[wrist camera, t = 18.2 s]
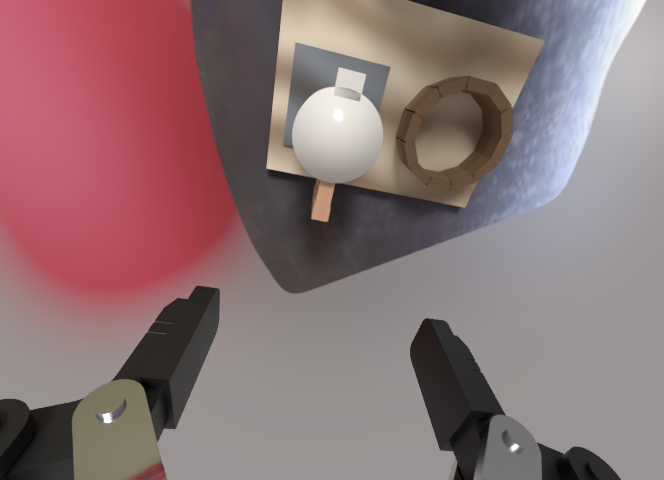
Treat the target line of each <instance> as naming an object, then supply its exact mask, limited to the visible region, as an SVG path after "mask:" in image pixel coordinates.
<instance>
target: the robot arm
mask: <svg viewBox="0 0 664 480" xmlns="http://www.w3.org/2000/svg"><path fill="white" fill-rule="evenodd" d="M219 297H220V291H219V289H218V288H210V287H204V286H196V288H195V289H194V290H193V292H192V293H191V295H190V297H189V298H188V299H181V298H177V299H176V300H174V301H173V302H172V303H171V304H169V305H167V306H166V307H164V309H163V310H162V312H161V313H160V314H159V316H158V317H157V319H156V320H155V323H153V324H152V326H151V327H150V329H149V330H148V333H146V334H145V336H144V337H143V339H142V340H141V341H140V343H139V344H138V346H137V347H136V348H135V350H134V351H133V353H132V354H131V355H130V357H129V358H128V360H127V361H126V362H125V364H124V365H123V367H122V368H121V370H120V371H119V372H118V374H117V375H116V376H115V378H114V379H113V380H112V381H111V382H108V383H106V384H103V385H101V386H100V387H98V388H96V389H95V390H93V391H92V392H90V393H89V394H88V395H87V396H86V397H85V398H83V399H80V400H77V401H74V402H70V403H64V404H59V405H54V406H50V407H44V408H39V409H34V410H30V409H29V408H28V406H27V405H26V403H24V402H23V401H20V400H17V399H3V400H0V480H167V478H166V474H165V470H164V467H163V464H162V461H161V456H160V452H159V448H158V444H157V442H158V440H159V438H160V436H161V434H162V431H163V429H164V428H166V429H176V427H177V424H178V422H179V419H180V417H181V415H182V412H183V410H184V408H185V405H186V403H187V401H188V398H189V396H190V394H191V391H192V389H193V387H194V384H195V382H196V380H197V377H198V375H199V372H200V370H201V368H202V365H203V363H204V361H205V358H206V356H207V354H208V351H209V349H210V347H211V344H212V342H213V339H214V337H215V335H216V332H217V328H218V324H219V303H220V302H219V300H220V298H219ZM410 357H411V361H412V364H413V367H414V370H415V373H416V377H417V380H418V383H419V386H420V389H421V392H422V395H423V399H424V402H425V405H426V408H427V411H428V414H429V417H430V420H431V423H432V426H433V430H434V432H435V436H436V439H437V442H438V445H439V448H440V450H443V451H453V452H454V454H455V457H456V460H455V461H454V462H453V465H452V468H451V473H450V476H449V480H621V479H620V478H619V476H618V475H617V474H616V473H615V472H614V470H613V469H612V468H611V467H610V466H609V465H608V464H607V463H606V462H605V461H603V460H602V459H601V458H600V457H598V456H597V455H595V454H594V453H592V452H591V451H589V450H587V449H584V448H582V447H573V448H571V449H570V450H569V451H567V452H566V453H565V454H563V453H560V452H558V451H556V450H553V449H551V448H549V447H546V446H544V445H542V444H539V443H537V442H536V441H535V439H534V438H533V436H532V435H531V434H530V433H529V431H528V430H527V429H526V428H525V427H524V426H523V425H521V424H520V423H519V422H517V421H516V420H514V419H513V418H511V417H508V416H506V415H505V413H504V411H503V410H502V408H501V406H500V404H499V402H498V401H497V399H496V398H495V395H494V393H493V392H492V390H491V388H490V386H489V384H488V383H487V381H486V379H485V377H484V375H483V374H482V373H481V372H480V368H479V366H478V365H477V363H476V362H475V359H474V358H473V355H472V354H471V352H470V350H469V348H468V347H467V346H466V345H465V344H464V343H463V341H462V340H461V339H460V338H459V337H457V336H454V335H453V333H452V331H451V329H450V327H449V325H448V324H447V322H445V321H443V320H435V319H428V318H426V319H424V320H423V322H422V324H421V326H420V328H419V330H418V332H417V334H416V336H415V338H414V340H413V342H412V344H411V348H410Z"/></svg>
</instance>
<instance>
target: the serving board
mask: <svg viewBox="0 0 664 480" xmlns="http://www.w3.org/2000/svg"><path fill="white" fill-rule="evenodd" d="M544 42H545V41H544V40H541V39H537V38H534V37H530V36H527V35H524V34H520V33H517V32H513V31H510V30H507V29H503V28H500V27H496V26H493V25H490V24H486V23H483V22H479V21H476V20H473V19H469V18H466V17H462V16H459V15H456V14H452V13H449V12H445V11H442V10H439V9H435V8H432V7H429V6H425V5H422V4H418V3H415V2H412V1H408V0H283V5H282V16H281V26H280V36H279V46H278V57H277V67H276V77H275V87H274V98H273V108H272V118H271V128H270V138H269V149H268V159H267V169H272V170H277V171H282V172H287V173H292V174H297V175H302V176H307V177H312V178H316V177H314V176H312V175H311V174H310V173H308V172H307V171H306V170H305V169H304V167H303V166H302V165H301V164H300V162H299V160H298V158H297V156H296V154H295V151H294V148H293V142H292V130H293V124H294V121H295V118H296V115H297V113H298V111H299V110H300V108H301V107H302V105H303V104H304V103H305V101H306V100H307V99H308V98H309V97H310V96H311V95H312V94H313V93H314V92H316V91H317V90H319V89H322V88H325V87H334V86H335V81H336V76H337V70H338V68H339V67H340V68H344V69H348V70H352V71H355V72H359V73H363V74H366V78H365V82H364V86H363V90H362V95H364V96H365V97H366V98H367V99H369V100H370V101H371V103H372V104H373V105H374V106H375V108H376V110H377V111H378V114H379V116H380V119H381V122H382V127H383V142H382V147H381V150H380V153H379V155H378V157H377V159H376V161H375V162H374V164H373V165H372V166H371V168H370V169H369V170H368V171H367V172H366V173H364V174H363V175H361V176H360V177H358V178H356V179H354V180H352V181H348V182H344V183H342V184H347V185H353V186H358V187H363V188H368V189H373V190H378V191H383V192H388V193H393V194H398V195H403V196H408V197H413V198H418V199H423V200H428V201H433V202H438V203H443V204H448V205H454V206H459V207H464V208H465V207H466V205H467V203H468V201H469V198H470V196H471V194H472V192H473V190H474V188H475V186H476V184H477V182H478V181H479V180H480V179H481V178H482V177H483V176H484V175H486V174H487V173H488V172H489V171H490V170H491V169H493V168H494V167H495V166H496V165H497V163H496V162H500V160H501V158H502V156H503V154H504V152H505V150H506V148H507V146H508V144H509V142H510V140H511V138H512V137H511V136H510V135H512V109H513V107H514V105H515V102H516V100H517V98H518V96H519V94H520V92H521V90H522V88H523V86H524V84H525V82H526V79H527V77H528V75H529V73H530V71H531V69H532V67H533V65H534V63H535V61H536V59H537V57H538V54H539V52H540V50H541V48H542V46H543V44H544Z"/></svg>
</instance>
